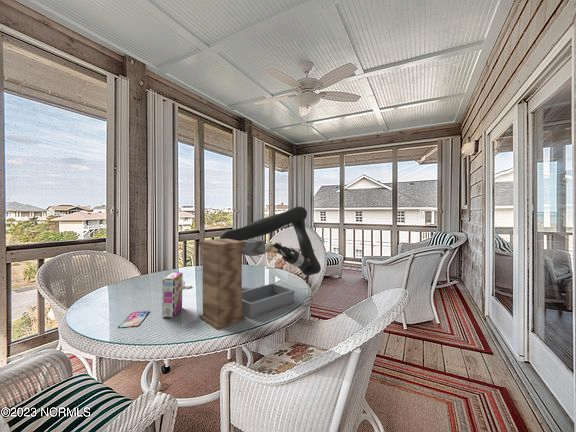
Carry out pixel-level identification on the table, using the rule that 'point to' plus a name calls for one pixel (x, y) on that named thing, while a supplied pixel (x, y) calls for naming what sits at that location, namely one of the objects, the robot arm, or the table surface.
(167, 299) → the candy bar box
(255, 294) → the charcoal tray
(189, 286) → the teacup and saucer
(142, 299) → the table surface
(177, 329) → the table surface
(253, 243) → the mallet
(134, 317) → the smartphone
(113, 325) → the table surface
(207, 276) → the walnut stand
